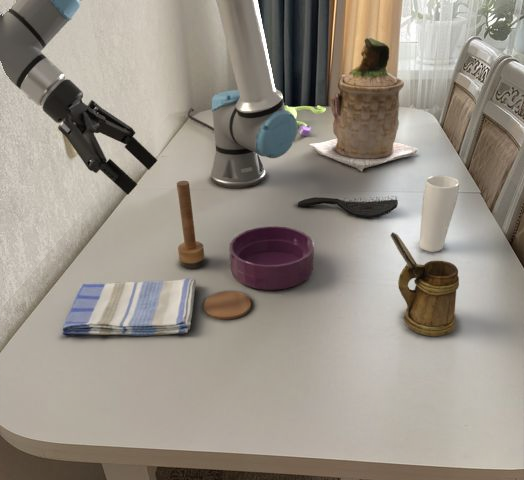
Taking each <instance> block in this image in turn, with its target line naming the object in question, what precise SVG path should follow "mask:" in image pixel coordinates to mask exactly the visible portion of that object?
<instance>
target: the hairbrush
mask: <svg viewBox="0 0 524 480" xmlns="http://www.w3.org/2000/svg"><path fill="white" fill-rule="evenodd" d="M381 197H382V198H381ZM381 197H380V196H379V198H378V196H376V197H373V198H372V197H369V200H368V201H367V200H365V198H363V200H362V198H357V199H356V198H354V201H353V200H352V199H351V198H350V197H349V198H348V199H349V200H346V197H344V199H343V200H342V199H340V198H334V197H324V196H321V197H320V196H317V197H316V196H314V197H309V198H304V199H302V200H299V201H298V202H297V206H298V207H302V208H304V207H310V206H318V205H336V206H337V207H339V208H340V209H342V210H343V211H344V212H345V213H347V214H348V215H350V216H353V217H355V218H359V219H374V218H379V217H382V216H385V215H388V214H390V213H391V212H393V211H394V210H395V209H396V208H397V207H398V205H399V200H398V198H397V196H396V195H392V198H390V196H389V195H387V196H385V197H383V196H381ZM374 198H375V199H374ZM380 198H381V199H380ZM386 198H387V199H386ZM394 198H395V199H394ZM359 199H360V200H359Z"/></svg>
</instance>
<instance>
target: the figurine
mask: <svg viewBox="0 0 524 480" xmlns="http://www.w3.org/2000/svg"><path fill="white" fill-rule="evenodd" d="M284 106H285V110H286V111H287V110H288V111H289V112H291V114H293V115H294V117H295V119H296V122H297V126H299V128H298V129H297V133H299V135H300V136H304V137H308V136H309V135H310V132H311V130H312V127H311V126H310V125H309V124H306V122H303V121H298V120H297V115H298V113H297V111H304V110H305V111H311V112H312V113H313V114H316V115H318V114H322V113H325V112H326V110H327V109H326V107H324V106H321V105H317V106H316V109H315V108H314V107H313V106H311V105H310V106H309V105H301V106H296V107H292V106H289V105H285V104H284Z"/></svg>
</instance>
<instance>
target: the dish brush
mask: <svg viewBox="0 0 524 480" xmlns="http://www.w3.org/2000/svg"><path fill="white" fill-rule="evenodd" d="M176 189H177V197H178V205H179V212H180V220H181V226H182V227H181V228H182V235H183V242H182V243H180V244H178V246H177V251H178V258H179V261H180V265H181V267H182V268H184V269H186V270H197V269H199V268H201V267H202V266H204V264H205V249H204V248H205V247H204V244H203V243H202V242H200V241H197V240H196V232H195V231H196V230H195V223H194V216H193V215H194V214H193V213H194V212H193V205H192V196H191V189H190V182H189V181H188V180H179V181H177V182H176Z"/></svg>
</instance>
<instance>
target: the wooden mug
mask: <svg viewBox="0 0 524 480" xmlns="http://www.w3.org/2000/svg"><path fill="white" fill-rule="evenodd" d="M390 238H391V239H392V242H393V243H394V245H395V247H396V248H397V250H398V253H399V254H400V255H401V257H402V258H403V259H404V261H405V263H406V264H405V266H404V267H403V268H402V270H401V272H400V274H399V277H398V280H397V282H398V283H397V284H398V285H397V286H398V290H399V292H400V294H401V296H402V298H403V299H404V301H405V303H406V309H405V312H404V315H403V322H404V324H405V325H406V326H407V327H408V329H410V330H411V331H412V332H414V333H416V334H418V335H421V336H426V337H441V336H445V335H447V334H450V333H451V332H453V331H454V330H455V328H456V320H457V319H456V318H457V317H456V314H455V313H456V299H457V290H458V289H459V287H460V277H459V269H458V268H457V266H456V265H455V264H454V263H452V262H449V261H445V260H430V261H427V262H425V263H424V264H420V263H417V261H416V260H415V258H414V257H413V255H412V254H411V252H410V250H409V249H408V247H407V246H406V245H405V243H404V242H403V240H402V239H401V237H400V236H399V235H398V234H397V233H396V232H391V234H390ZM413 279H414V285H415V286H414V289H411V288H410V287H409V283H410V281H411V280H413Z"/></svg>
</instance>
